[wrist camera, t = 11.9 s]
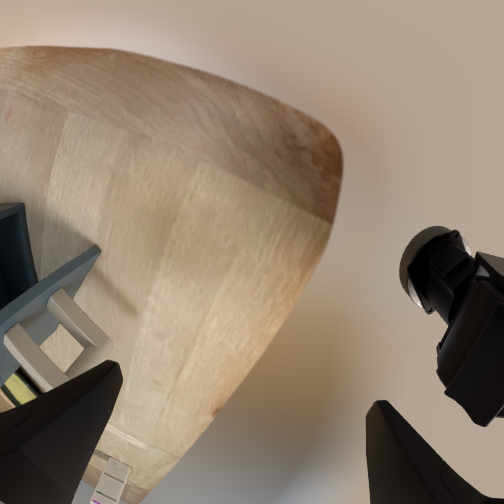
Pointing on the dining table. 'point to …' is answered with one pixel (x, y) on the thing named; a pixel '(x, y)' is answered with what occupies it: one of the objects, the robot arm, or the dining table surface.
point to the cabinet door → (50, 326)
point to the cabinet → (14, 254)
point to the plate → (18, 389)
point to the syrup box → (111, 483)
